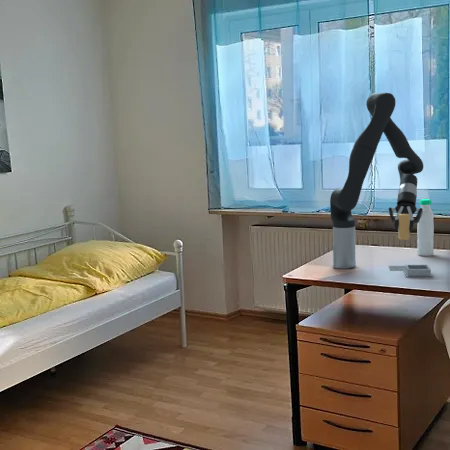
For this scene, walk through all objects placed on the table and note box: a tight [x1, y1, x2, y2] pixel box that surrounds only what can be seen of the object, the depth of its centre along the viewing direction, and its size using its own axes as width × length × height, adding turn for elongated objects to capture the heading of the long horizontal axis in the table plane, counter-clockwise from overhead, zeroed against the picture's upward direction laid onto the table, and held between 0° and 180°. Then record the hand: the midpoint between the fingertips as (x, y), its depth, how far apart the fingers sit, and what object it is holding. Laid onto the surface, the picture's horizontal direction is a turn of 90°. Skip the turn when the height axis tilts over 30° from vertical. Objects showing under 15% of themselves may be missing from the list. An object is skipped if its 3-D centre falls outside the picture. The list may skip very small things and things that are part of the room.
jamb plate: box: [388, 265, 405, 272], centre depth 263 cm, size 12×9×1 cm
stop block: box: [397, 214, 411, 241], centre depth 261 cm, size 4×4×10 cm
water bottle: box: [416, 198, 435, 257], centre depth 288 cm, size 7×7×25 cm
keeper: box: [402, 264, 434, 278], centre depth 252 cm, size 10×10×3 cm
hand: (403, 229), depth 259 cm, fingers closed on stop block, 4 cm apart
